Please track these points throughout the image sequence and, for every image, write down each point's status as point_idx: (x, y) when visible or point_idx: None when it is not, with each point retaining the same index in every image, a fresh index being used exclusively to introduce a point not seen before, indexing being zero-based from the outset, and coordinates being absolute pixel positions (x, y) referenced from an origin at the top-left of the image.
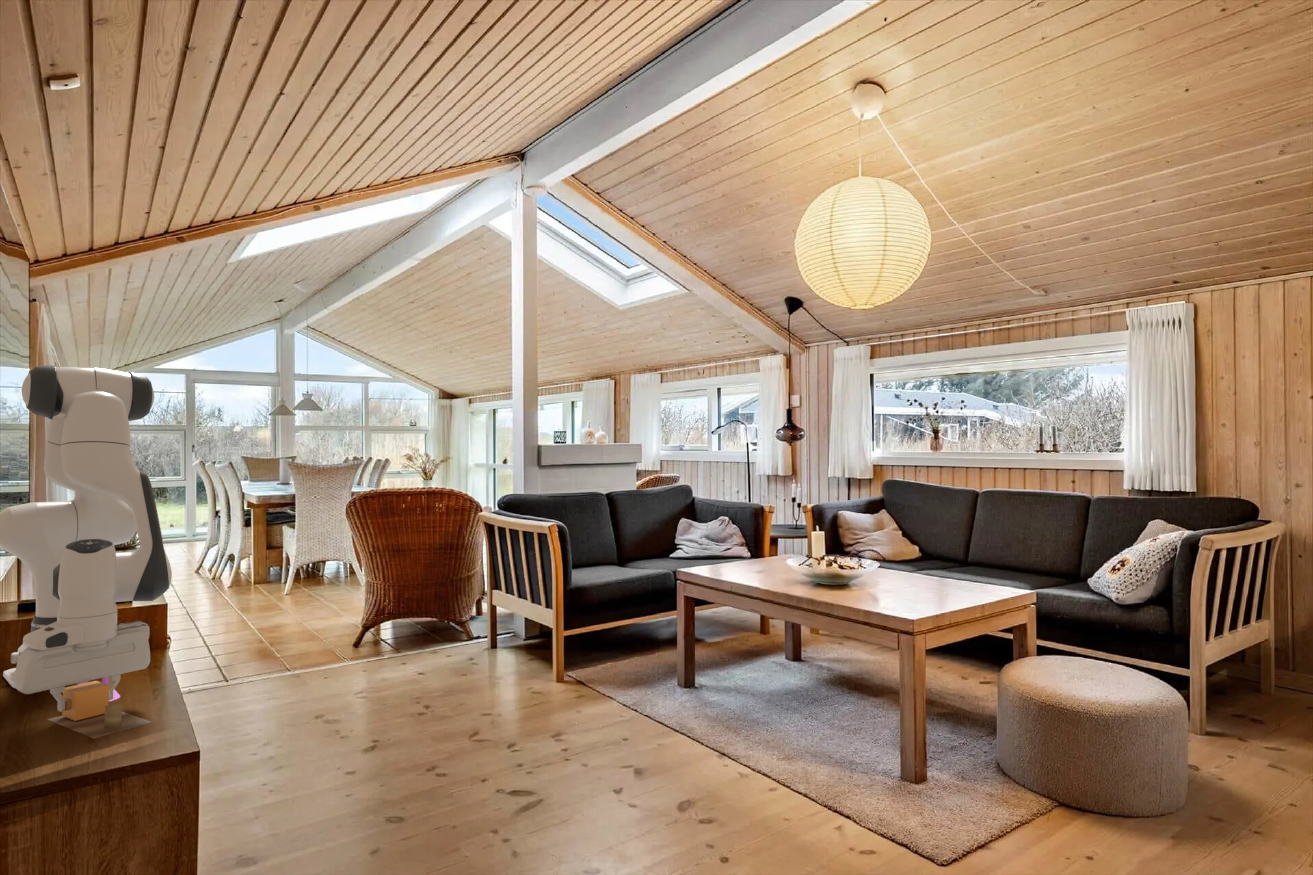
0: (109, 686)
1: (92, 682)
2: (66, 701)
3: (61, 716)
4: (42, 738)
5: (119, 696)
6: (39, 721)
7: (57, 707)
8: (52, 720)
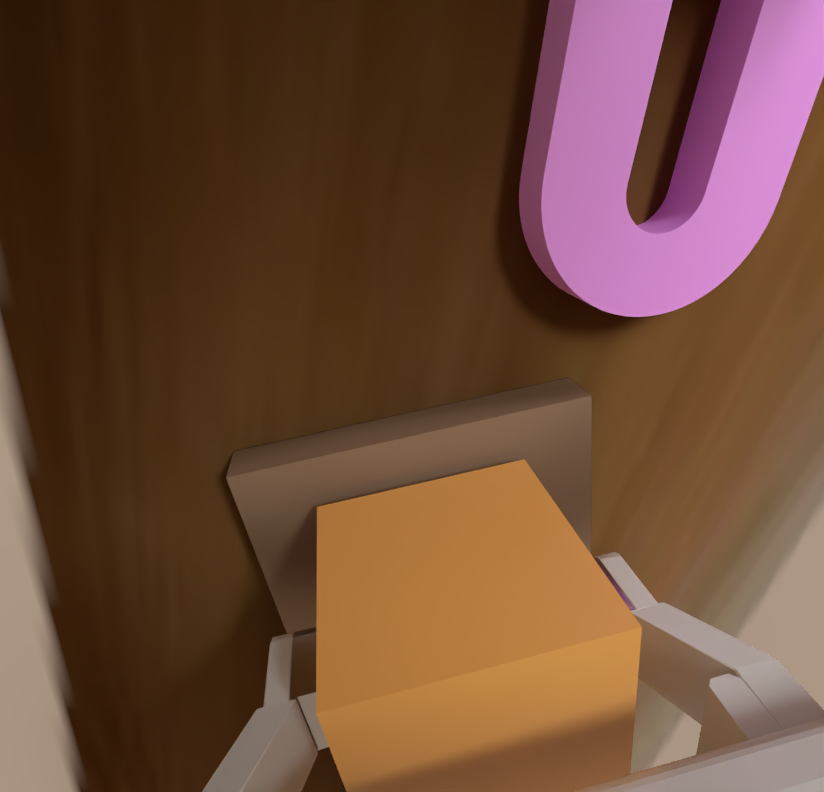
0: (660, 663)
1: (590, 671)
2: (320, 745)
3: (316, 475)
4: (202, 648)
5: (764, 221)
6: (192, 281)
7: (269, 654)
8: (255, 528)
